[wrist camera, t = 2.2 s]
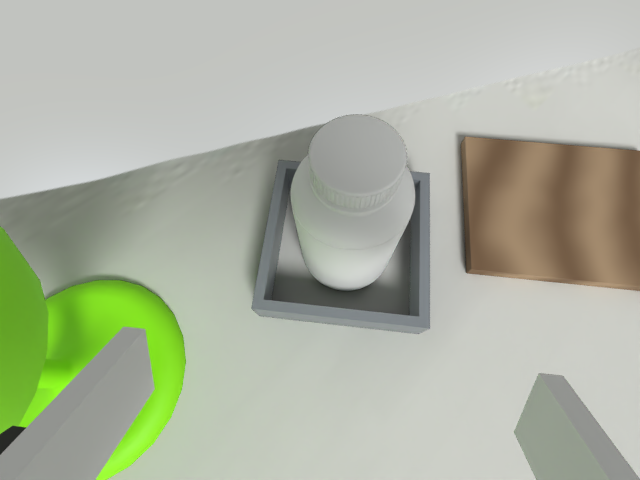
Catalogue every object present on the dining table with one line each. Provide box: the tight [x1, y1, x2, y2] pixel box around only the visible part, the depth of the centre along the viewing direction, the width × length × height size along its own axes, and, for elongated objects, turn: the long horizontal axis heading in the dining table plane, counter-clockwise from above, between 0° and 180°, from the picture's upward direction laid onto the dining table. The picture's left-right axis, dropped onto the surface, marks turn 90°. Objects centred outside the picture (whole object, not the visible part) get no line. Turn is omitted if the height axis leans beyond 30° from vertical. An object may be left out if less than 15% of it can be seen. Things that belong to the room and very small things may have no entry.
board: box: [461, 137, 640, 291], centre depth 33 cm, size 18×14×1 cm
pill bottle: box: [291, 114, 415, 291], centre depth 25 cm, size 8×8×15 cm
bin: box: [251, 160, 430, 334], centre depth 31 cm, size 14×14×4 cm
